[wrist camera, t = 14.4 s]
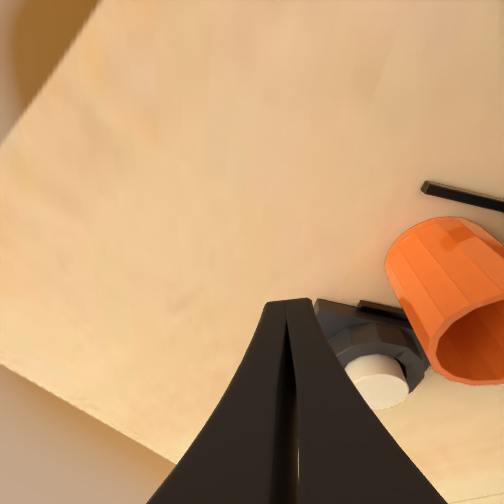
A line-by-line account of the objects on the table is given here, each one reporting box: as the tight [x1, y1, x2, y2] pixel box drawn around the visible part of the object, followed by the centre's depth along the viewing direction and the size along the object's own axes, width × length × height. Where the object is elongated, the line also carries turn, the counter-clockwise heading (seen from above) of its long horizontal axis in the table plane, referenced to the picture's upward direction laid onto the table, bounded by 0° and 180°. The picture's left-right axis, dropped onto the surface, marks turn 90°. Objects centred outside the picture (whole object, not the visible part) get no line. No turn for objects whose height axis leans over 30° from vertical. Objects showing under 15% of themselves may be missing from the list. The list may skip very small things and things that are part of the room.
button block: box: [314, 299, 431, 394], centre depth 23 cm, size 10×7×3 cm
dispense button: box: [344, 354, 409, 410], centre depth 21 cm, size 4×4×2 cm
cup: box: [385, 217, 504, 386], centre depth 17 cm, size 6×6×7 cm
